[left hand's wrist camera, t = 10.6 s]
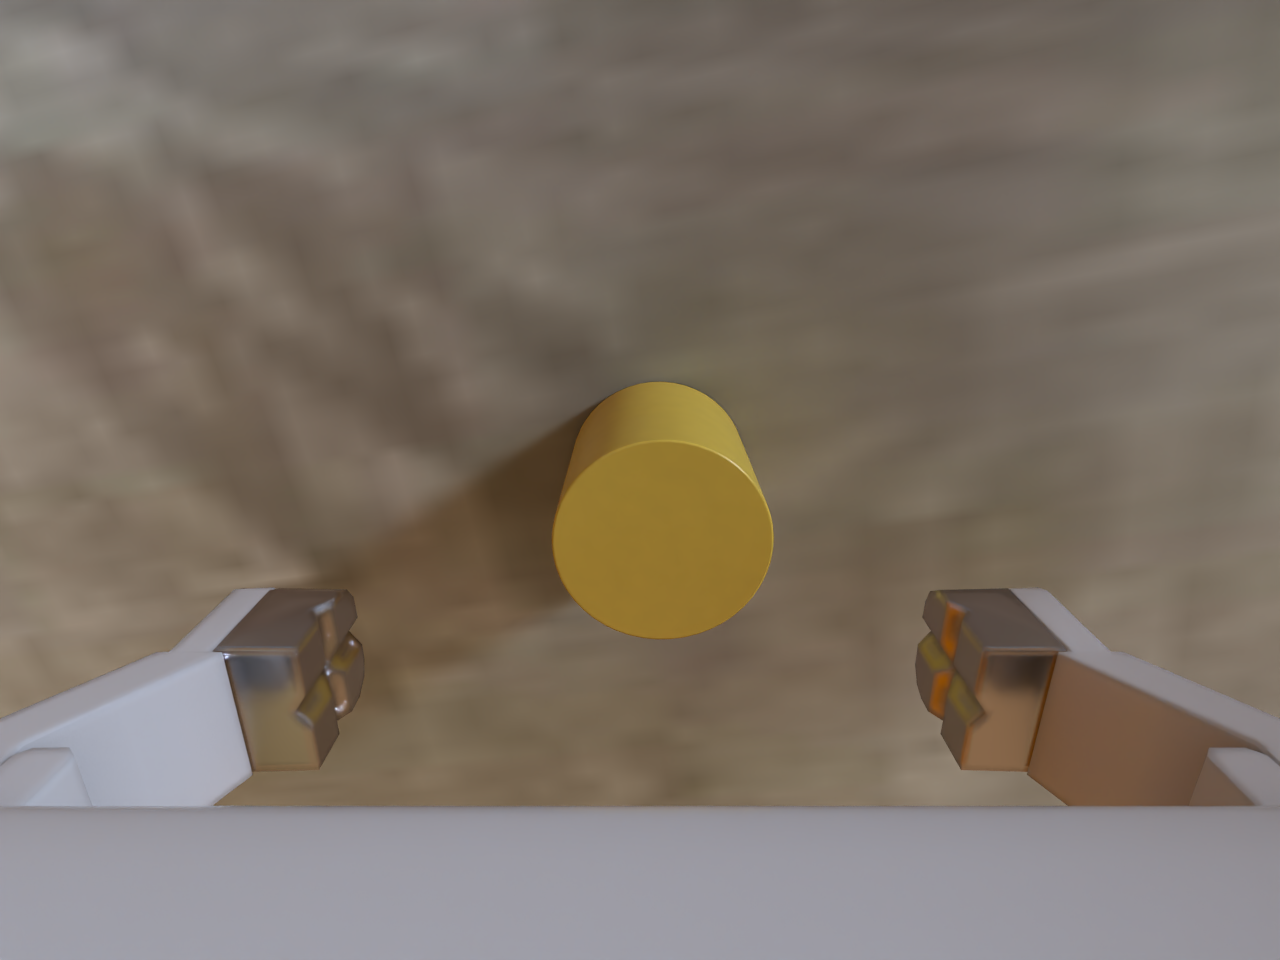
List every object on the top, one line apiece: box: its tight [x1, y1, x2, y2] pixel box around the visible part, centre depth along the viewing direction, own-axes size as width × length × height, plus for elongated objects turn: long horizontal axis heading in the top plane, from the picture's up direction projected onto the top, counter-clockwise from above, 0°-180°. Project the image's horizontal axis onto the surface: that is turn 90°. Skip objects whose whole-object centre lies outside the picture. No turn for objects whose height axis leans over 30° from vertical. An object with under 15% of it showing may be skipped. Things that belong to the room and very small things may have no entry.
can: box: [552, 382, 774, 639], centre depth 15 cm, size 4×4×4 cm
